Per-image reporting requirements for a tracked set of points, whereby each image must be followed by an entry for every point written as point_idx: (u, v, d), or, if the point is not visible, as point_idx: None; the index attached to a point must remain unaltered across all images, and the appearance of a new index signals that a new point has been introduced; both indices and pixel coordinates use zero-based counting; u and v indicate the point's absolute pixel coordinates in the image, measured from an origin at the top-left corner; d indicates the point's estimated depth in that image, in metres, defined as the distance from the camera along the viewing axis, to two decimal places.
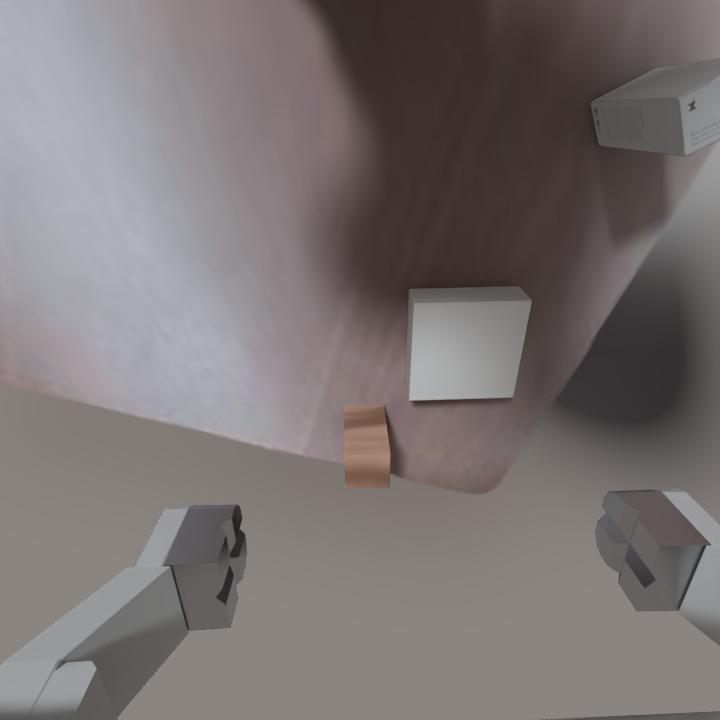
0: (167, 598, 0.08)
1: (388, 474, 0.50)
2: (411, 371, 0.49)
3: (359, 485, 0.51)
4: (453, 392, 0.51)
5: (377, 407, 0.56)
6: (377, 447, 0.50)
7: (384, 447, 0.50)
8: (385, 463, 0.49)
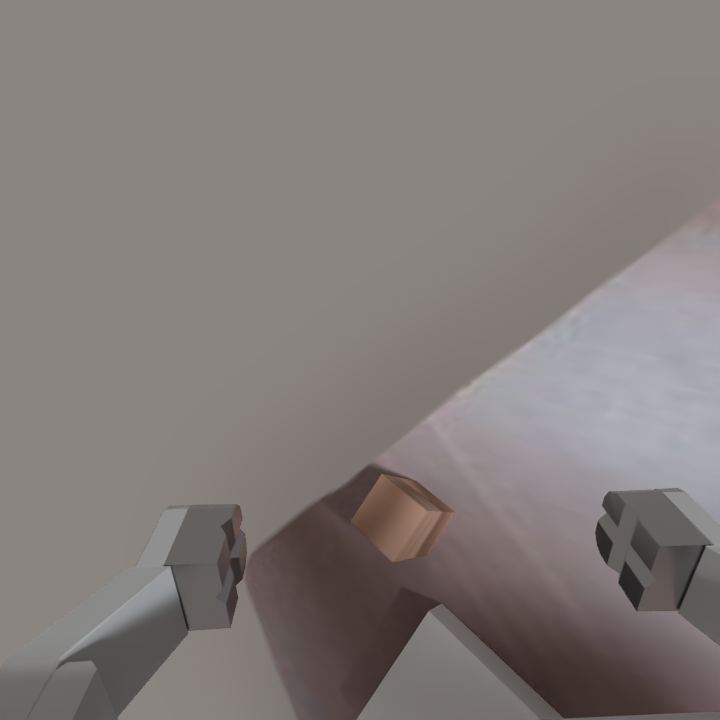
0: (167, 598, 0.08)
1: (367, 535, 0.38)
2: (465, 648, 0.36)
3: (374, 491, 0.39)
4: (404, 668, 0.38)
5: (430, 548, 0.43)
6: (406, 548, 0.37)
7: (401, 555, 0.37)
8: (384, 545, 0.37)
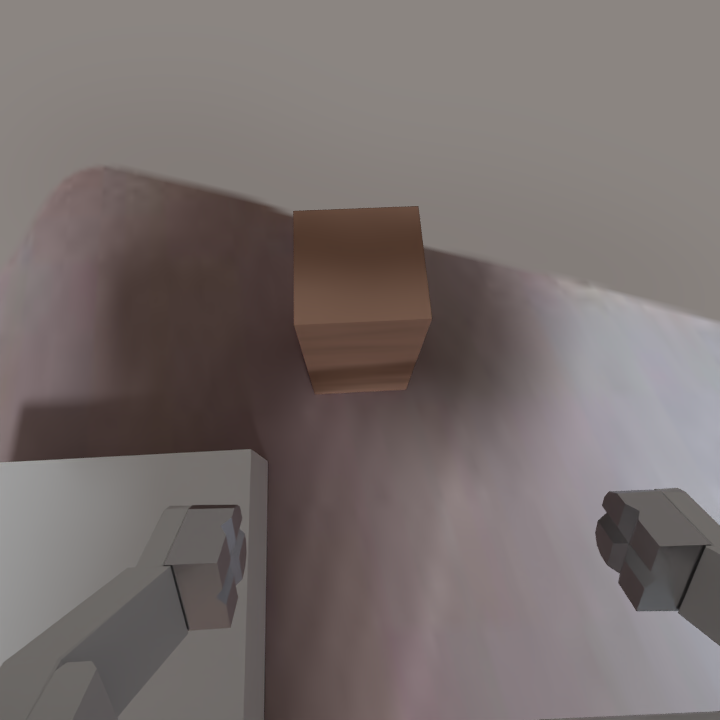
0: (167, 598, 0.08)
1: (297, 253, 0.17)
2: None
3: (379, 214, 0.18)
4: (131, 477, 0.19)
5: (329, 391, 0.24)
6: (331, 336, 0.17)
7: (312, 336, 0.17)
8: (309, 291, 0.17)
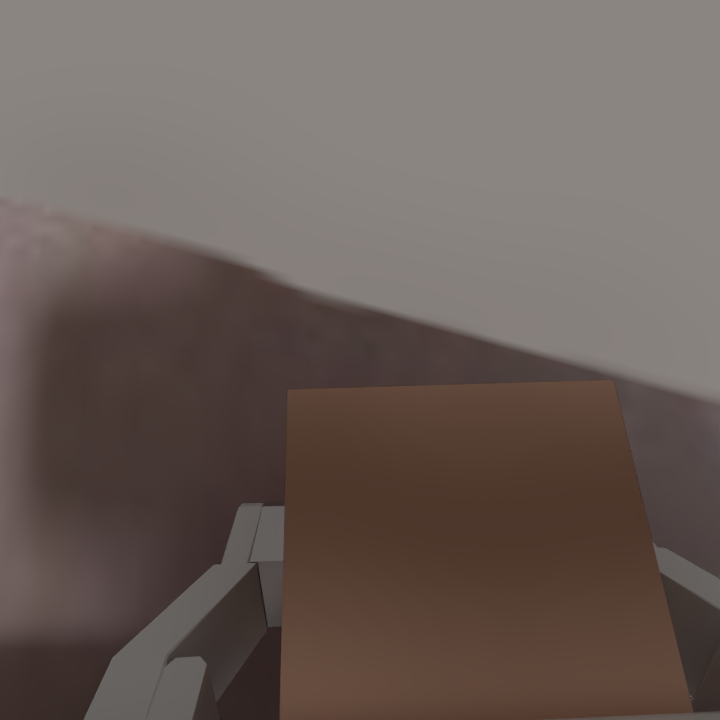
0: (253, 595, 0.08)
1: (295, 528, 0.06)
2: None
3: (513, 405, 0.07)
4: None
5: None
6: None
7: None
8: (327, 672, 0.06)
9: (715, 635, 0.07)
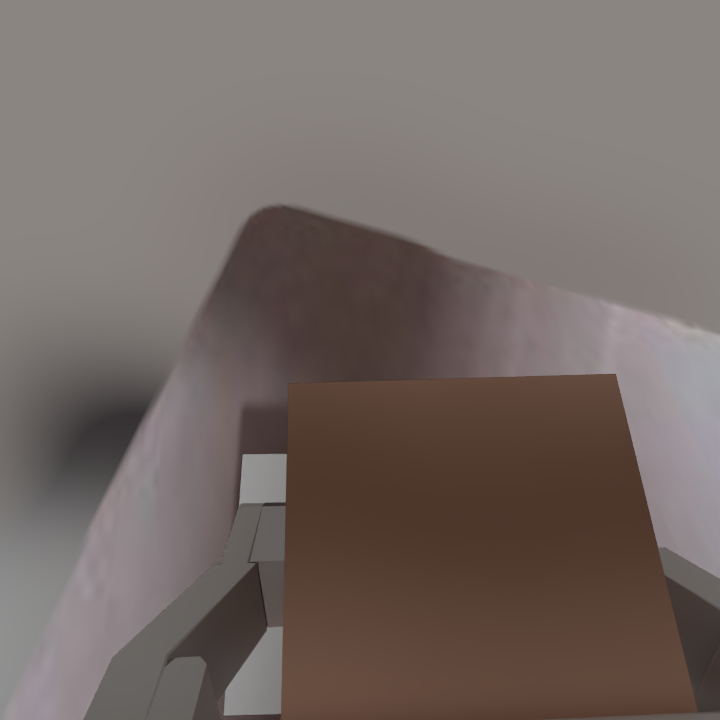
0: (252, 595, 0.08)
1: (296, 522, 0.06)
2: None
3: (515, 399, 0.07)
4: None
5: None
6: None
7: None
8: (329, 667, 0.05)
9: (714, 634, 0.07)
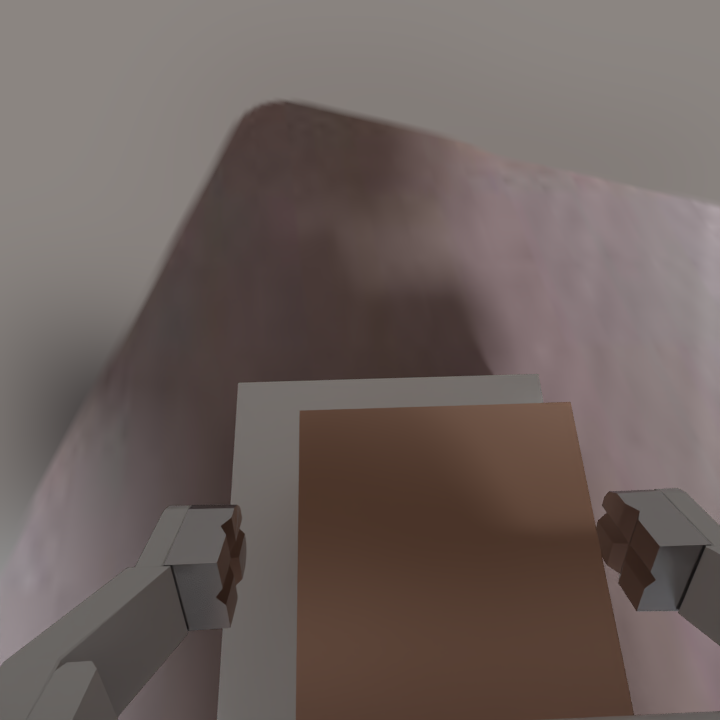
0: (167, 598, 0.08)
1: (307, 526, 0.07)
2: None
3: (487, 423, 0.08)
4: (415, 400, 0.18)
5: None
6: None
7: None
8: (333, 640, 0.07)
9: None
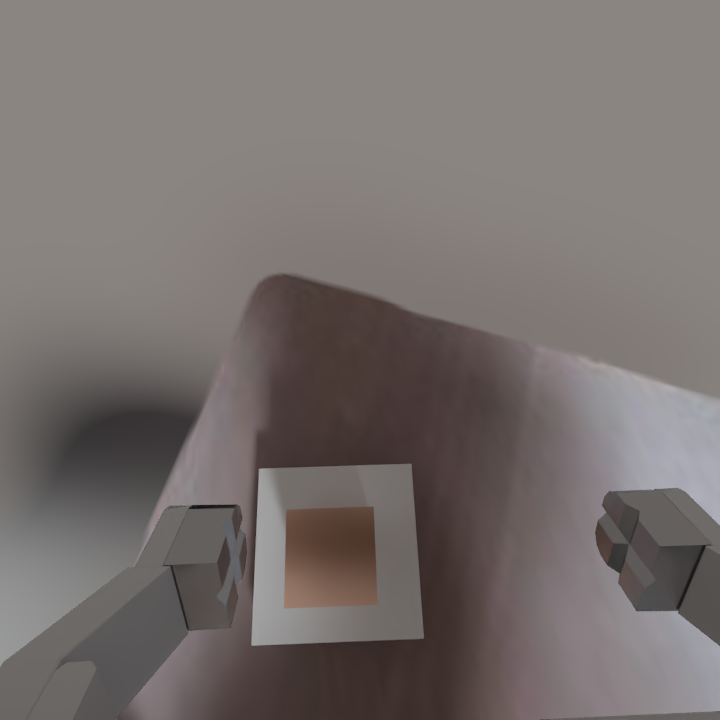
0: (167, 598, 0.08)
1: (288, 547, 0.25)
2: (413, 516, 0.34)
3: (345, 514, 0.26)
4: (348, 477, 0.35)
5: None
6: None
7: None
8: (295, 580, 0.24)
9: None
